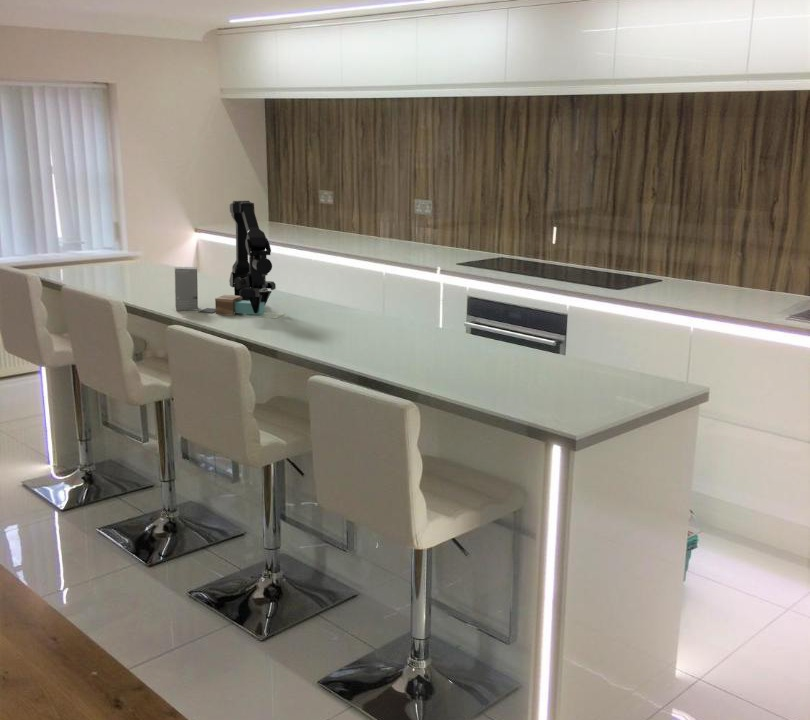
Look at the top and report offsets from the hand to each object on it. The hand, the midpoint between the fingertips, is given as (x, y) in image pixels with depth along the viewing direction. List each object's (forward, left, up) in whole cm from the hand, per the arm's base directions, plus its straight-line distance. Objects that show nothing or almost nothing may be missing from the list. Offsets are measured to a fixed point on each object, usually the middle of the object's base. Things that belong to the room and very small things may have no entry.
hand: (258, 312), depth 330 cm
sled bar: (0, -5, -1) cm, 6 cm away
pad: (0, +2, -1) cm, 2 cm away
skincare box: (-1, -30, -1) cm, 30 cm away
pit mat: (0, -20, -1) cm, 20 cm away
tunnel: (0, -12, -1) cm, 12 cm away
